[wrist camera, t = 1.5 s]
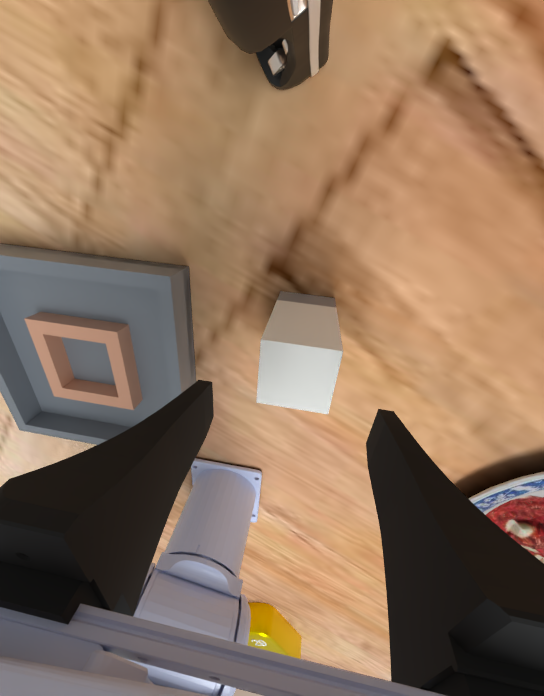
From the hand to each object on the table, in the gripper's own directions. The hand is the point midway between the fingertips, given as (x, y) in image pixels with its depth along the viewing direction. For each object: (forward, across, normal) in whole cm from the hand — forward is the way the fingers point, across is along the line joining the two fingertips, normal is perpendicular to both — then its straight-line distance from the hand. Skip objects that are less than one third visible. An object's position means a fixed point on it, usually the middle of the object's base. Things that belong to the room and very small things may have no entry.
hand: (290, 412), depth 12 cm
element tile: (+10, +1, +61) cm, 62 cm away
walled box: (+10, +18, +6) cm, 22 cm away
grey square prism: (+11, 0, 0) cm, 11 cm away
